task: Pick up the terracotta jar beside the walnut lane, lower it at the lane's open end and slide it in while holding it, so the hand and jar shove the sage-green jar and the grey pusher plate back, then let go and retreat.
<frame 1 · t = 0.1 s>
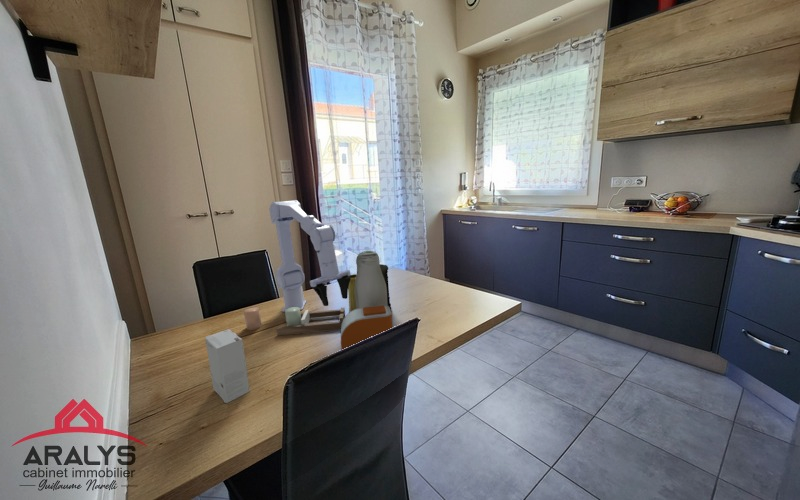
hand: (335, 301, 101), 11 cm above the table, tool pointing down, fingers open, 7 cm apart
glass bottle: (373, 332, 101), on the table
vase: (356, 310, 119), on the table
skincare box: (232, 391, 75), on the table
alarm clock: (368, 352, 90), on the table
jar: (254, 326, 109), on the table
lane: (311, 324, 109), on the table
container: (380, 311, 117), on the table
pusher: (324, 317, 109), point 2 cm above the table, slide at 0.0 cm
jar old: (294, 326, 108), on the table
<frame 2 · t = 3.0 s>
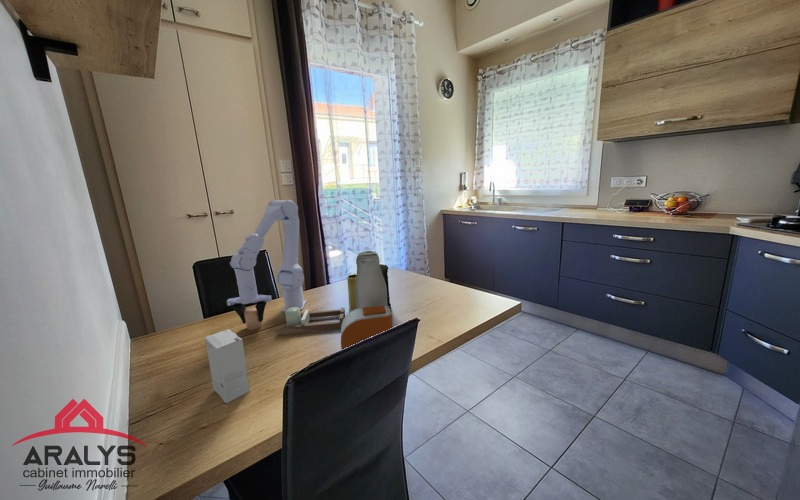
hand: (253, 321, 109), 2 cm above the table, tool pointing down, fingers closed on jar, 5 cm apart
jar: (254, 326, 109), on the table, touching gripper
everything else where it was.
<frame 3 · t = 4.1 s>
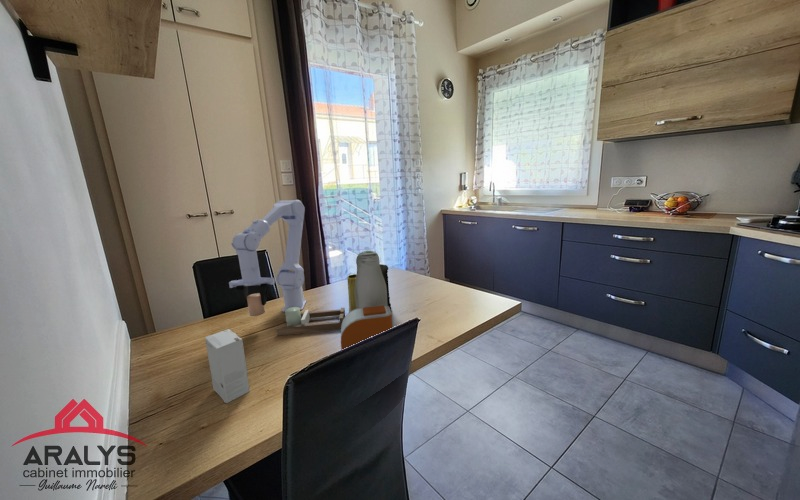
hand: (256, 304, 106), 9 cm above the table, tool pointing down, fingers closed on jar, 5 cm apart
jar: (257, 313, 107), point 6 cm above the table, touching gripper
everything else where it was.
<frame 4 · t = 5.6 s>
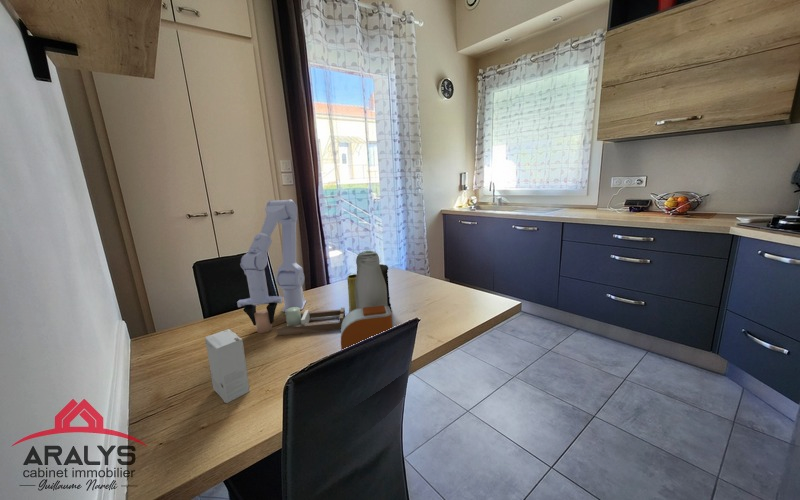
hand: (263, 323, 107), 2 cm above the table, tool pointing down, fingers closed on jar, 5 cm apart
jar: (264, 329, 107), on the table, touching gripper
everything else where it was.
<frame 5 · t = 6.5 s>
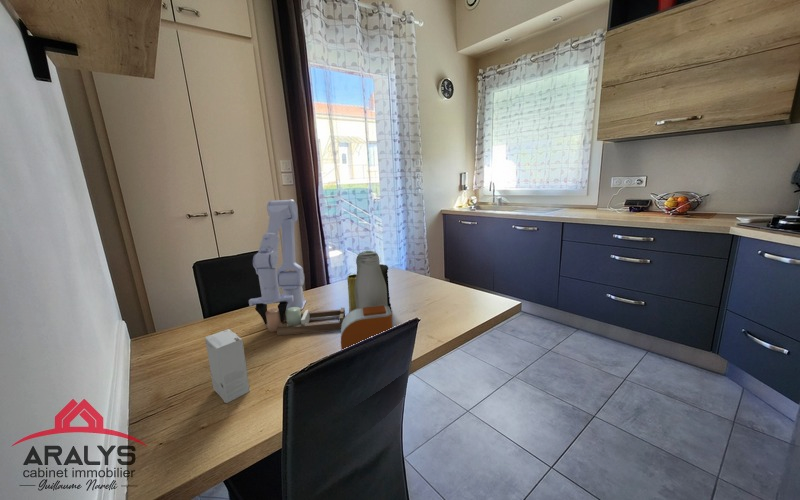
hand: (274, 322, 107), 2 cm above the table, tool pointing down, fingers closed on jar, 5 cm apart
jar: (275, 328, 107), on the table, touching gripper
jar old: (294, 326, 108), on the table, touching gripper
everything else where it was.
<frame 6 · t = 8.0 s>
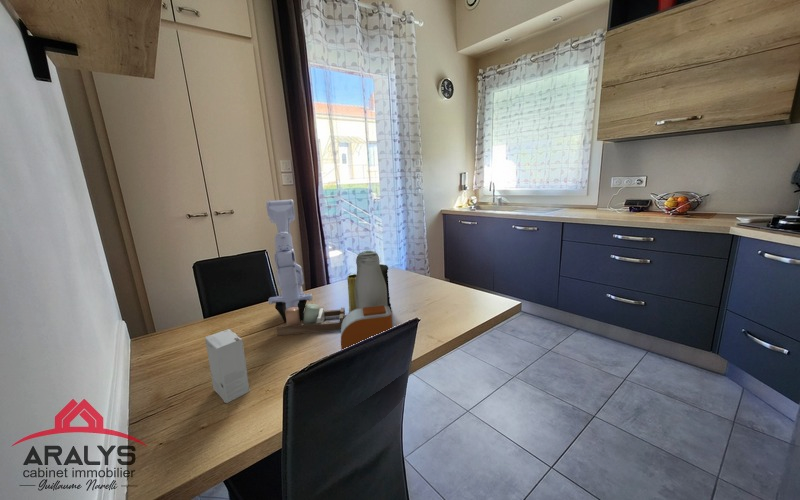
hand: (293, 320, 108), 2 cm above the table, tool pointing down, fingers closed on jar, 5 cm apart
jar: (294, 326, 108), on the table, touching gripper
pusher: (339, 316, 109), point 2 cm above the table, slide at 5.4 cm, touching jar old
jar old: (309, 323, 109), point 1 cm above the table, tilted 16°, touching gripper, pusher
everything else where it was.
when the fingers open (3 cm above the table, at t = 9.3 s): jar stays where it is, on the table.
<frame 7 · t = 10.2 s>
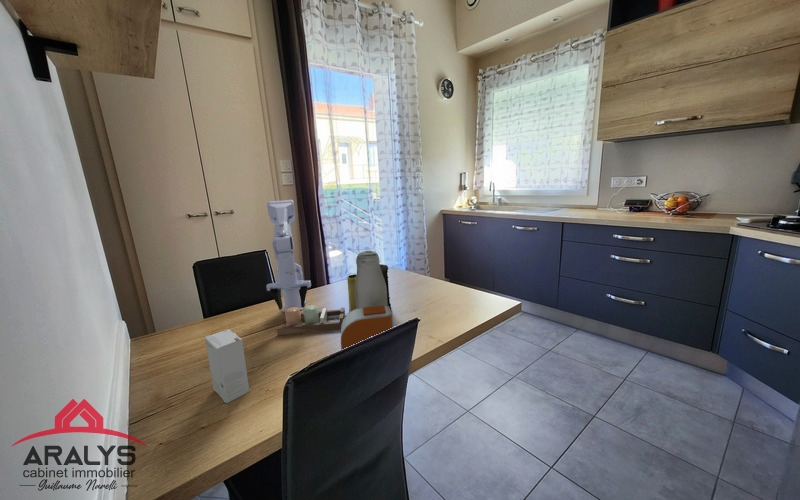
hand: (292, 307, 107), 7 cm above the table, tool pointing down, fingers open, 7 cm apart
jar: (294, 326, 108), on the table
pusher: (342, 316, 109), point 2 cm above the table, slide at 6.4 cm
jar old: (312, 324, 109), on the table
everything else where it was.
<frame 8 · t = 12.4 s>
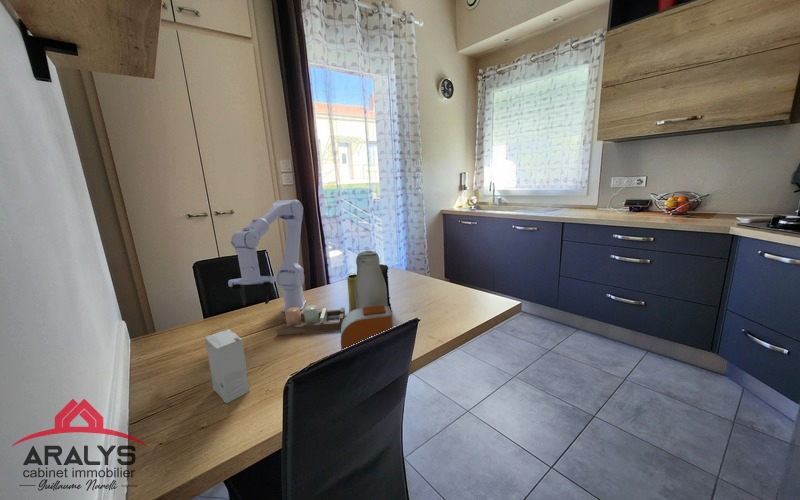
hand: (255, 303, 105), 10 cm above the table, tool pointing down, fingers open, 7 cm apart
nothing on the table moved.
at the end: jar inside the target area on the lane (0.8 cm from its centre), point 0.0 cm above the lane's base; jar tilted 0°; pusher slide at 6.4 cm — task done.
